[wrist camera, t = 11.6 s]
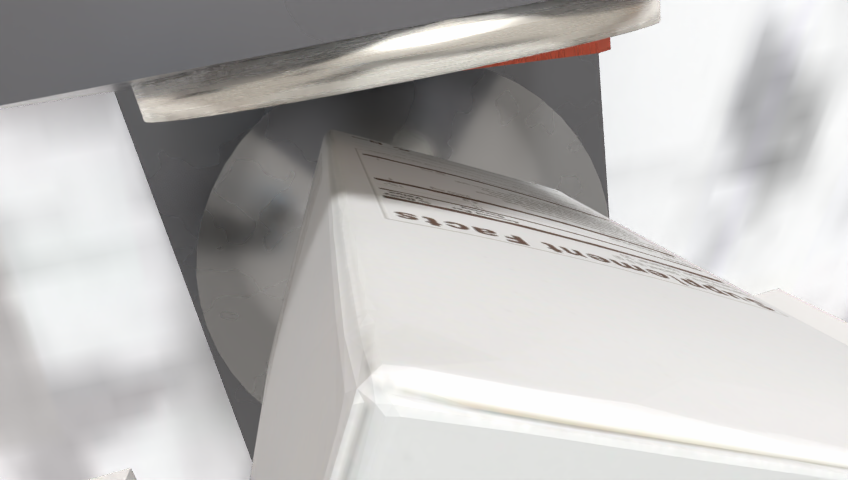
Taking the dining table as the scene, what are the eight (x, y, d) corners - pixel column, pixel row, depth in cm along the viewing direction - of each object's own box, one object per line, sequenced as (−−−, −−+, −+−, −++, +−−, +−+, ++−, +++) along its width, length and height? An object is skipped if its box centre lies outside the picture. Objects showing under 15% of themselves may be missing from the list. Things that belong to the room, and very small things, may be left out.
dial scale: (268, 438, 25) (200, 921, 11) (124, 31, 19) (-454, -53, 5) (588, 352, 27) (883, 673, 13) (553, -48, 20) (1053, -278, 7)
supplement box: (489, 401, 22) (796, 1021, 8) (264, 364, 19) (118, 1154, 5) (570, 188, 19) (1218, 523, 5) (325, 119, 17) (346, 385, 3)
